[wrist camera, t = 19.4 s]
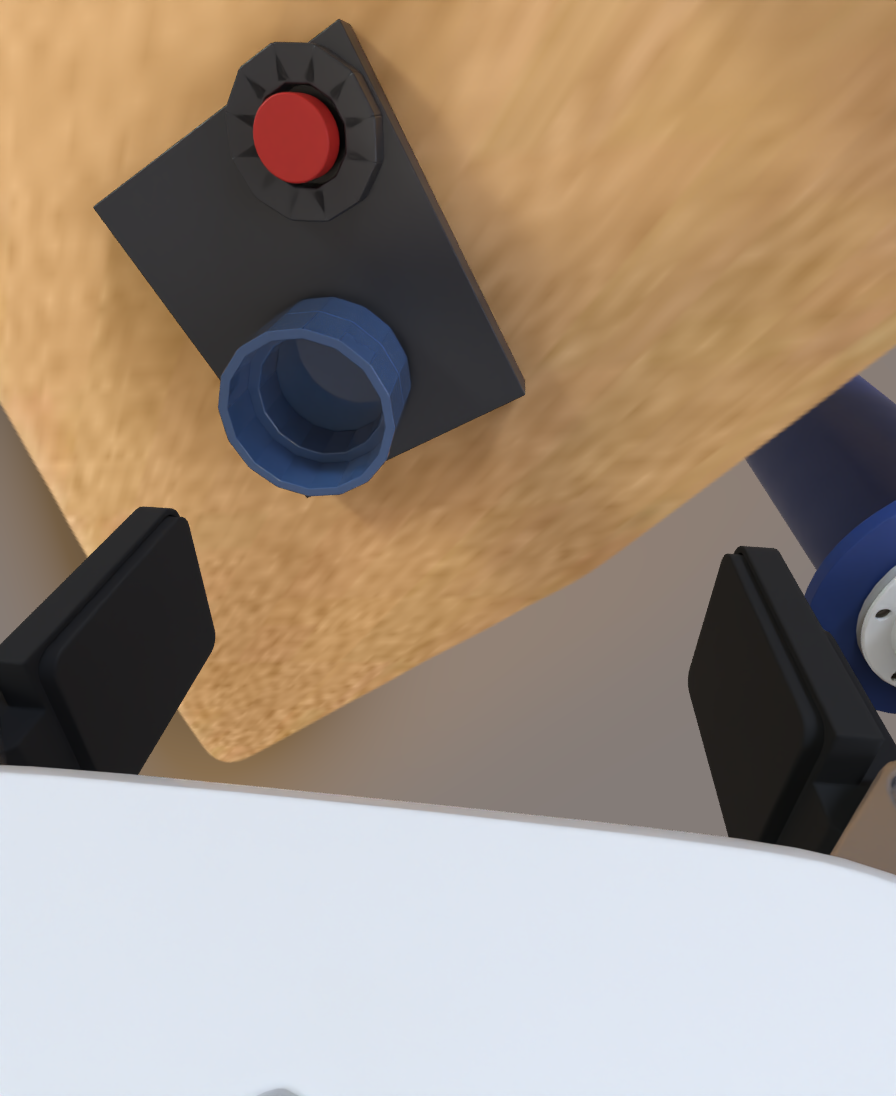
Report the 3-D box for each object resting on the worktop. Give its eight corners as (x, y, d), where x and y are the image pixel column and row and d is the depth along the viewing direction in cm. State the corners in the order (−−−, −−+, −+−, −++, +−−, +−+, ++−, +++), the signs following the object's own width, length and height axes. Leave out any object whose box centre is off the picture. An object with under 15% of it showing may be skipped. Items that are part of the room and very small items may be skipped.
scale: (525, 380, 33) (526, 407, 30) (315, 481, 37) (298, 513, 34) (345, 13, 25) (322, 1, 22) (108, 194, 29) (64, 203, 27)
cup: (439, 404, 32) (425, 455, 27) (319, 463, 34) (288, 519, 29) (358, 263, 28) (328, 294, 24) (232, 339, 31) (182, 381, 26)
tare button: (354, 154, 25) (344, 157, 24) (296, 194, 26) (283, 199, 25) (312, 75, 24) (299, 73, 22) (252, 119, 25) (236, 120, 23)
